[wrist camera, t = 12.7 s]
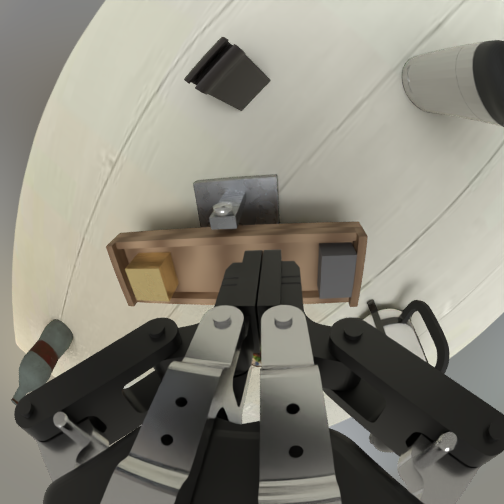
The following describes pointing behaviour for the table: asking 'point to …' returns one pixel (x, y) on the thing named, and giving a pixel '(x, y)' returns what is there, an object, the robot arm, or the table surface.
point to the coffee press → (408, 337)
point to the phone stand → (228, 75)
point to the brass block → (152, 276)
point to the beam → (236, 255)
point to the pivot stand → (237, 201)
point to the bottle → (42, 358)
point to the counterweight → (336, 270)
